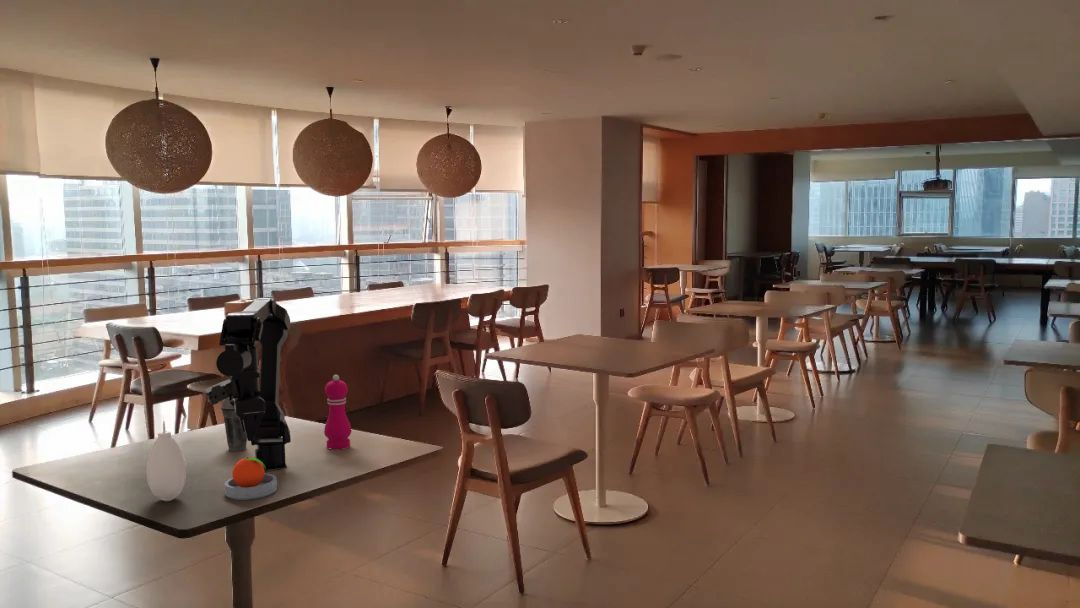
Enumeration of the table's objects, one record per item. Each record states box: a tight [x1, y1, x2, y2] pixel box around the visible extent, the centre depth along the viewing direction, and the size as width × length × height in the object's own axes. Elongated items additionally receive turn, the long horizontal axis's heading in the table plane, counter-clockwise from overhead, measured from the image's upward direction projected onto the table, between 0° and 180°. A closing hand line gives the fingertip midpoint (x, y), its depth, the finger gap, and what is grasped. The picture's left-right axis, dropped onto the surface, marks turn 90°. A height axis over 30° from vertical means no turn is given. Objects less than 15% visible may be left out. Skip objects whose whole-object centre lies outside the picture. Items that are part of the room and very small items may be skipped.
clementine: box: [231, 456, 266, 488], centre depth 186 cm, size 8×7×7 cm
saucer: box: [224, 472, 278, 501], centre depth 187 cm, size 11×11×3 cm
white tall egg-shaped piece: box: [146, 420, 187, 502], centre depth 181 cm, size 8×8×18 cm
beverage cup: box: [221, 398, 248, 452], centre depth 222 cm, size 7×7×20 cm
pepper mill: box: [323, 374, 352, 450], centre depth 223 cm, size 7×7×20 cm
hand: (247, 435), depth 186 cm, fingers open, 9 cm apart
